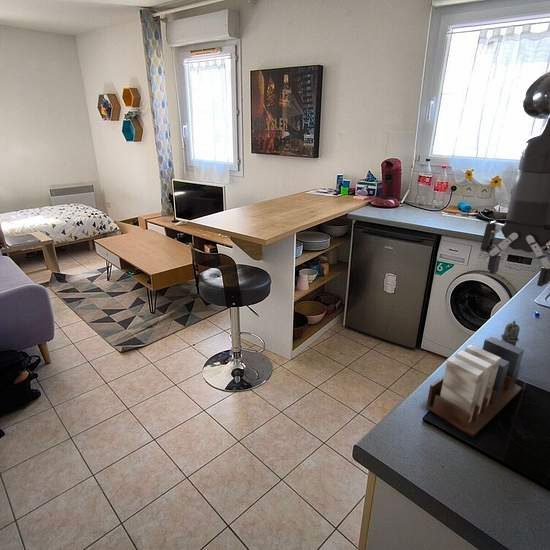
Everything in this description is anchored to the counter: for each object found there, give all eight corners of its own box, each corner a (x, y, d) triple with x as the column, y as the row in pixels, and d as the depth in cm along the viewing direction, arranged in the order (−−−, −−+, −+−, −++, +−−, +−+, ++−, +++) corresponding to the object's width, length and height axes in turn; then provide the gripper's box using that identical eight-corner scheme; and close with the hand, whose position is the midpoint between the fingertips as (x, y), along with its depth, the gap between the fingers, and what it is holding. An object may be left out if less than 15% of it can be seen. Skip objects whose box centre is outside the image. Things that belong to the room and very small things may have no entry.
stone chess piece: (522, 367, 88) (535, 324, 83) (503, 372, 87) (515, 329, 82) (502, 354, 93) (513, 313, 89) (484, 358, 92) (494, 316, 87)
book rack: (521, 390, 81) (536, 341, 76) (473, 437, 69) (487, 383, 64) (476, 368, 88) (487, 322, 83) (425, 407, 76) (434, 357, 72)
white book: (479, 412, 74) (492, 364, 69) (474, 417, 73) (487, 368, 68) (451, 396, 78) (461, 349, 74) (446, 400, 77) (456, 353, 73)
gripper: (591, 198, 62) (565, 284, 69) (502, 189, 73) (487, 264, 79) (576, 205, 58) (551, 296, 64) (484, 194, 69) (470, 273, 75)
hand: (516, 278), depth 72 cm, fingers open, 8 cm apart
